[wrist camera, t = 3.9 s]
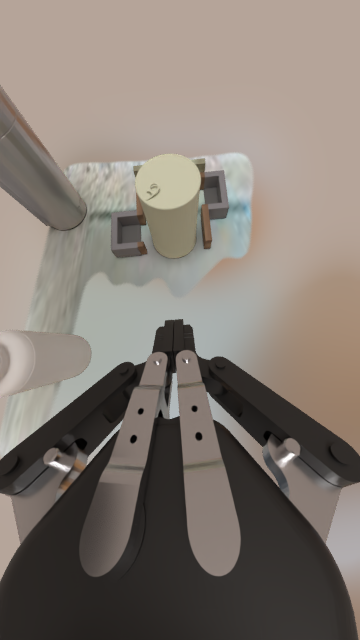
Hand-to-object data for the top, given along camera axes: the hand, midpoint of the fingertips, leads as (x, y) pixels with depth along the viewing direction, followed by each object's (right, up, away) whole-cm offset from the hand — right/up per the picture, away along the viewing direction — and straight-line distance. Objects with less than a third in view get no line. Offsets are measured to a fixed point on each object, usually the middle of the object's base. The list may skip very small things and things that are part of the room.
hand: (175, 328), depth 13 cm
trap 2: (-10, +18, +19) cm, 28 cm away
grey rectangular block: (-1, +18, +19) cm, 26 cm away
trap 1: (+7, +27, +20) cm, 34 cm away
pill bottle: (-20, -6, +16) cm, 27 cm away
